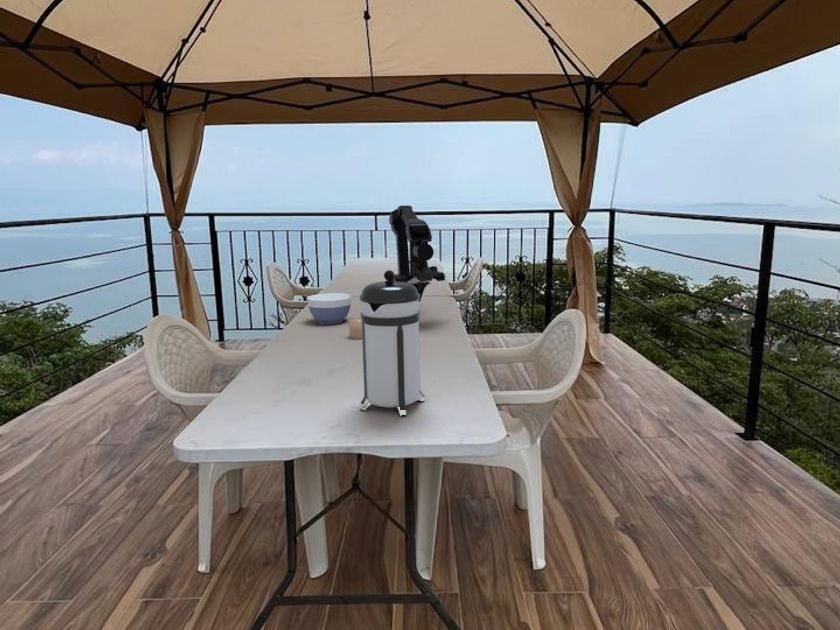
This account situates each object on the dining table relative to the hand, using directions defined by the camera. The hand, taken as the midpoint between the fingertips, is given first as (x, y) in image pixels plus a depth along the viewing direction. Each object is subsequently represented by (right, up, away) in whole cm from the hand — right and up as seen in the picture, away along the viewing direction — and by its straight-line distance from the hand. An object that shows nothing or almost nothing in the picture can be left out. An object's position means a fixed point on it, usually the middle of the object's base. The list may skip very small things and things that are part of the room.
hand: (418, 301), depth 203 cm
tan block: (-20, -12, -15) cm, 28 cm away
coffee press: (-5, -25, -76) cm, 80 cm away
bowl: (-33, -8, +9) cm, 35 cm away
